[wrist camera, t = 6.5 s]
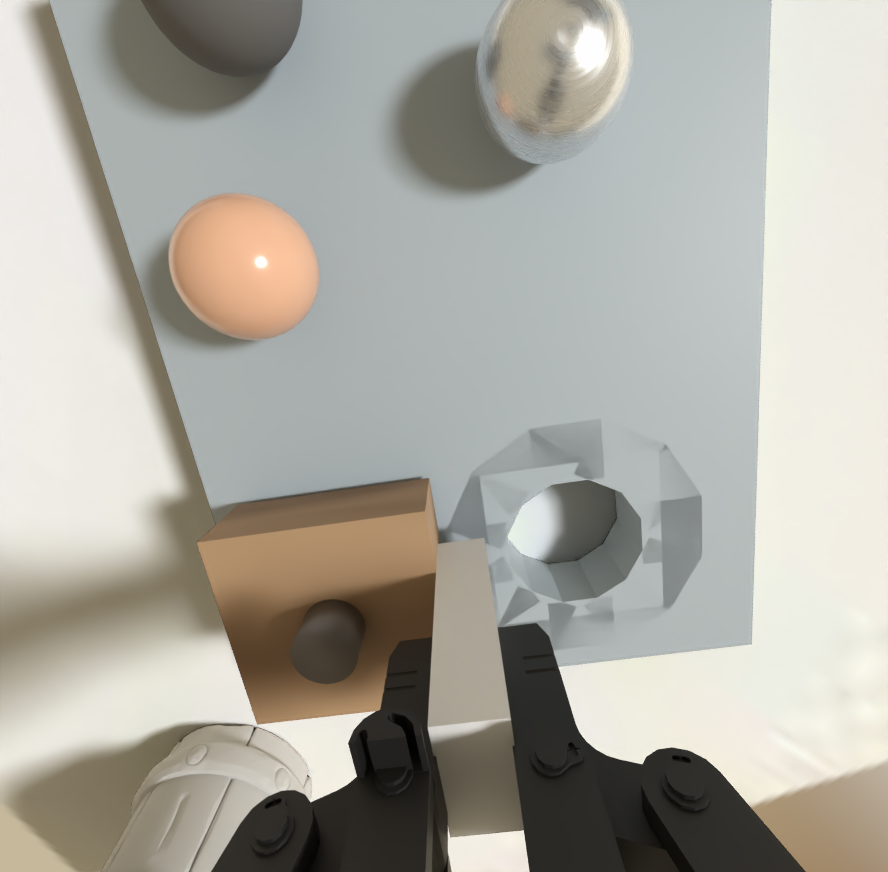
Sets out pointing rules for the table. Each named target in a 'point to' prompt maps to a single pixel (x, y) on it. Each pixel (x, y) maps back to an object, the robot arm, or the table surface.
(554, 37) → the steel ball
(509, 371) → the board
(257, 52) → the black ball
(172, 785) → the mug
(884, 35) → the table surface
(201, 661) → the table surface
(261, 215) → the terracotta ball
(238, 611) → the cover
